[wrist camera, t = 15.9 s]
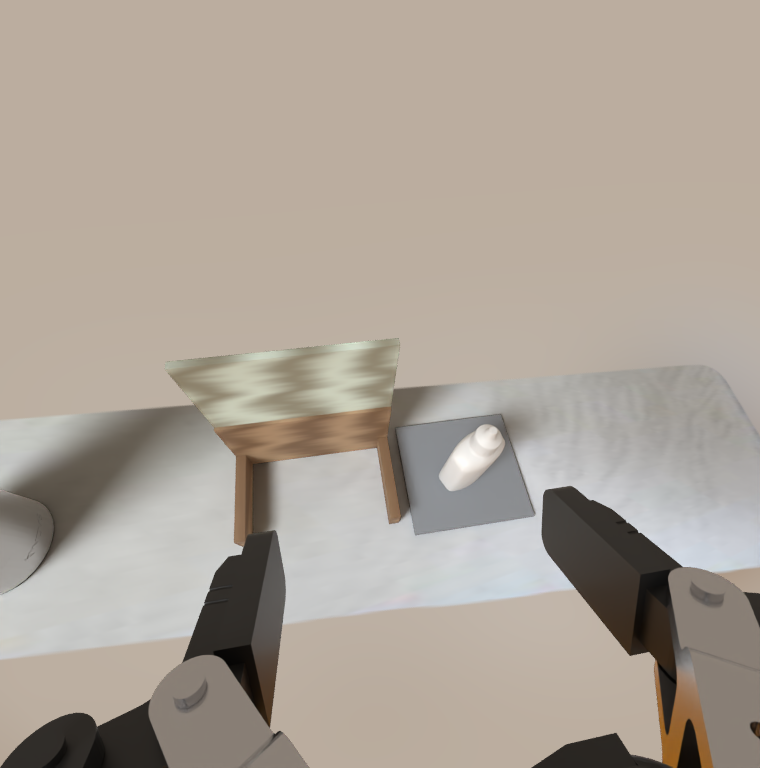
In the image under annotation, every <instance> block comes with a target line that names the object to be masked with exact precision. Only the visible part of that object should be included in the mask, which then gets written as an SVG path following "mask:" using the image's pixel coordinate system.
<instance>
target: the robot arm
mask: <svg viewBox="0 0 760 768" xmlns="http://www.w3.org/2000/svg"><path fill="white" fill-rule="evenodd" d="M53 531H54V526H53V519H52V516H51V514H50V512H49V510H48V509H47V508H46V507H45V506H44V505H43V504H41V503H40V502H38V501H35V500H32V499H29V498H26V497H23V496H20V495H16V494H13V493H10V492H7V491H5V490H1V489H0V595H1V594H4V593H6V592H7V591H9V590H11V589H13V588H15V587H16V586H18V585H19V584H20V583H22V582H23V581H24V580H26V579H27V578H28V577H29V576H30V575H31V574H32V573H33V572H34V571H35V570H36V568H37V567H38V566H39V564H40V563H41V562H42V561H43V559H44V557H45V555H46V553H47V552H48V550H49V547H50V544H51V541H52V538H53ZM542 540H543V544H544V547H545V549H546V551H547V553H548V554H549V556H550V557H551V558H552V560H553V561H554V562H555V563H556V565H557V566H558V567H559V568H560V570H561V571H562V572H563V573H564V575H565V576H566V577H567V578H568V580H569V581H570V582H571V583H572V584H573V586H574V587H575V588H576V589H577V590H578V592H579V593H580V594H581V596H582V597H583V598H584V599H585V600H586V602H587V603H588V604H589V606H590V607H591V608H592V609H593V611H594V612H595V613H596V614H597V616H598V617H599V618H600V619H601V621H602V622H603V623H604V624H605V626H606V627H607V628H608V629H609V631H610V632H611V633H612V634H613V636H614V637H615V638H616V639H617V640H618V642H619V643H620V644H621V645H622V647H623V648H624V649H625V650H626V651H627V653H628V654H629V655H630V656H631V655H636V654H641V653H646V652H650V653H651V655H652V656H653V657H654V658H655V664H654V676H655V685H656V696H657V705H658V714H659V724H660V733H661V743H662V763H661V762H658V761H655V760H653V759H649V758H645V757H641V756H636V755H630V754H629V752H628V751H627V749H626V747H625V746H624V744H623V743H622V741H621V740H620V738H619V736H618V735H617V733H614V734H609V735H605V736H601V737H596V738H592V739H588V740H583V741H579V742H575V743H570V744H567V745H565V746H563V747H562V748H560V749H559V750H557V751H556V752H554V753H553V754H551V755H550V756H548V757H547V758H545V759H544V760H542V761H541V762H540V763H538V764H536V765H535V766H533V767H532V768H760V594H759V593H747V592H742V591H741V590H740V589H739V588H738V587H737V586H735V585H734V584H733V583H731V582H730V581H728V580H727V579H724V578H723V577H721V576H719V575H717V574H714V573H712V572H709V571H706V570H702V569H698V568H691V567H682V566H681V565H680V564H679V563H677V562H676V561H675V560H674V559H672V558H671V557H670V556H669V555H667V554H666V553H665V552H664V551H663V550H661V549H660V548H659V547H658V546H656V545H655V544H654V543H653V542H651V541H650V540H649V539H648V538H647V537H645V536H644V535H643V534H642V533H638V530H637V529H635V528H634V527H633V526H632V525H631V524H629V523H626V520H624V519H623V518H622V517H621V516H619V515H618V514H617V513H616V512H615V511H613V510H612V509H610V508H608V507H606V506H604V505H602V504H600V503H598V502H596V501H594V500H591V501H590V500H588V499H587V498H586V497H585V496H584V495H583V494H581V493H580V492H579V491H578V490H577V489H575V488H574V487H572V486H568V487H561V488H555V489H548V490H546V491H545V492H544V495H543V513H542ZM209 589H210V591H209V592H208V594H207V597H206V599H205V602H204V603H205V605H204V606H203V608H202V610H201V613H200V616H199V619H198V621H197V624H196V627H195V630H194V632H193V635H192V638H191V641H190V644H189V646H188V649H187V652H186V654H185V657H184V660H183V662H182V663H181V664H180V665H178V666H177V667H176V668H174V669H173V670H172V671H171V672H169V673H168V674H167V675H166V676H165V677H164V679H163V680H162V681H161V682H160V683H159V685H158V686H157V688H156V689H155V691H154V693H153V695H152V698H151V699H150V700H149V701H147V702H146V703H144V704H143V705H141V706H139V707H137V708H135V709H133V710H131V711H129V712H127V713H125V714H123V715H121V716H119V717H116V718H115V719H112V720H110V721H109V722H106V723H104V724H102V725H100V726H98V727H97V726H96V723H95V721H94V719H93V718H92V717H91V716H89V715H88V714H84V713H73V714H68V715H65V716H62V717H59V718H57V719H55V720H53V721H51V722H49V723H47V724H45V725H44V726H42V727H41V728H39V729H38V730H36V731H35V732H34V733H33V734H31V735H30V736H29V737H28V738H26V739H25V740H24V741H23V742H22V743H21V744H20V745H19V746H18V747H17V748H16V749H15V750H14V751H13V752H12V753H11V754H10V755H9V757H8V758H7V759H6V760H5V762H4V763H3V765H2V766H1V767H0V768H309V767H308V765H307V764H306V762H305V761H304V760H303V758H302V757H301V755H300V754H299V753H298V751H297V750H296V748H295V747H294V745H293V744H292V742H291V741H290V740H289V739H288V737H287V736H286V735H285V734H284V733H283V732H281V731H279V732H277V733H276V734H274V733H273V732H272V731H271V729H270V723H271V714H272V706H273V698H274V690H275V681H276V673H277V664H278V655H279V648H280V639H281V631H282V623H283V614H284V606H285V595H286V588H285V575H284V570H283V564H282V558H281V553H280V547H279V542H278V536H277V533H276V531H275V530H274V531H267V532H260V533H254V534H248V535H247V538H246V541H245V544H244V548H243V551H242V555H236V556H230V557H228V558H227V559H226V560H225V561H224V563H223V564H222V565H221V566H220V567H219V568H218V570H217V571H216V572H215V575H214V578H213V580H212V583H211V586H210V588H209Z"/></svg>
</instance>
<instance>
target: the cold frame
mask: <svg viewBox="0 0 760 768" xmlns="http://www.w3.org/2000/svg"><path fill="white" fill-rule="evenodd" d="M399 349H400V342H399V338H395V339H386V340H375V341H366V342H356V343H346V344H336V345H327V346H316V347H307V348H297V349H287V350H277V351H268V352H258V353H248V354H238V355H228V356H218V357H209V358H199V359H189V360H179V361H169V362H166V364H165V370H166V371H167V372H168V374H169V375H170V376H171V377H172V379H173V380H174V381H175V382H176V383H177V384H178V386H179V387H180V388H181V389H182V390H183V391H184V393H185V394H186V395H187V396H188V397H189V399H190V400H191V401H192V402H193V403H194V405H195V406H196V407H197V408H198V409H199V410H200V412H201V413H202V414H203V415H204V416H205V418H206V419H207V420H208V421H209V422H210V423H211V425H212V426H213V427H214V431H215V433H216V434H217V435H218V436H219V437H220V438H221V440H222V441H223V442H224V443H225V444H226V445H227V447H228V448H229V449H230V450H231V451H232V452H233V453H234V455H235V456H236V483H235V523H234V543H235V544H238V545H240V546H242V547H244V544H245V541H246V538H247V535H248V534H253V464H257V463H265V462H273V461H280V460H288V459H295V458H303V457H310V456H318V455H325V454H333V453H340V452H348V451H355V450H363V449H370V448H377V451H378V457H379V463H380V470H381V476H382V482H383V489H384V495H385V501H386V508H387V514H388V520H389V524H392V523H398V522H399V520H400V518H401V514H400V509H399V503H398V497H397V491H396V486H395V480H394V474H393V468H392V462H391V457H390V451H389V445H388V439H387V434H388V428H389V421H390V415H391V402H392V396H393V389H394V382H395V376H396V369H397V361H398V356H399Z"/></svg>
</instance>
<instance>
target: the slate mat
mask: <svg viewBox="0 0 760 768" xmlns="http://www.w3.org/2000/svg"><path fill="white" fill-rule="evenodd" d="M484 424H489V425H493V426H494V427H496V428H497V429H498V430H499V431H500V433H501V435H502V437H503V439H504V440H505V447H504V449H503V451H502V453H501V454H500V456H499V457H498V458H497V459H496V460H495V461H494V462H493V463H492V465H491V466H490V467H489V468H488V469H487V470H486V471H485V472H484V473H483V474H482V475H481V476H480V477H479V478H478V479H477V480H476V481H475V482H474V483H472V484H471V485H469V486H468V487H466V488H463V489H461V490H457V491H449V490H448V489H447V488H446V487H445V486H444V485H443V483H442V482H441V480H440V479H439V473H440V471H441V470H442V468H443V466H444V465H445V463H446V461H447V460H448V458H449V456H450V455H451V453H452V452H453V450H454V449H455V447H456V446H457V445H458V443H459V442H460V441H461V440H462V439H463V438H465V437H466V436H467V435H469V434H470V433H472V432H474V431H476V429H477V428H478V427H479V426H481V425H484ZM395 430H396V435H397V440H398V446H399V451H400V457H401V462H402V467H403V473H404V478H405V483H406V489H407V494H408V500H409V505H410V510H411V516H412V521H413V526H414V532H415V535H420V534H426V533H432V532H439V531H445V530H451V529H458V528H464V527H470V526H476V525H483V524H489V523H495V522H501V521H508V520H514V519H520V518H526V517H533V516H535V515H534V512H533V509H532V506H531V503H530V500H529V497H528V494H527V491H526V488H525V485H524V482H523V479H522V476H521V473H520V470H519V467H518V464H517V461H516V458H515V455H514V452H513V449H512V446H511V443H510V440H509V437H508V434H507V431H506V428H505V425H504V422H503V419H502V416H501V414H498V415H491V416H483V417H475V418H467V419H459V420H451V421H444V422H436V423H428V424H420V425H412V426H404V427H397V428H395Z"/></svg>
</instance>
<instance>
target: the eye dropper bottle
mask: <svg viewBox="0 0 760 768" xmlns="http://www.w3.org/2000/svg"><path fill="white" fill-rule="evenodd" d="M504 447H505V440H504V439H503V437H502V435H501V433H500V431H499V430H498V429H497V428H496V427H494V426H493V425H489V424H484V425H481V426H479V427H478V428H477V429H476V431H474V432H472V433H470V434H469V435H467V436H466V437H465V438H463V439H462V440H461V441H460V442H459V443H458V445H457V446H456V447H455V449H454V450H453V452H452V453H451V455H450V456H449V458H448V460H447V461H446V463H445V465H444V466H443V468H442V470H441V471H440V473H439V479H440V480H441V482H442V483H443V485H444V486H445V487H446V488H447V489H448V490H449V491H457V490H461V489H463V488H466V487H468V486H469V485H471V484H472V483H474V482H475V481H476V480H477V479H478V478H479V477H480V476H481V475H482V474H483V473H484V472H485V471H486V470H487V469H488V468H489V467H490V466H491V465H492V463H493V462H494V461H495V460H496V459H497V458H498V457H499V456H500V454H501V453H502V451H503V449H504Z"/></svg>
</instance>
